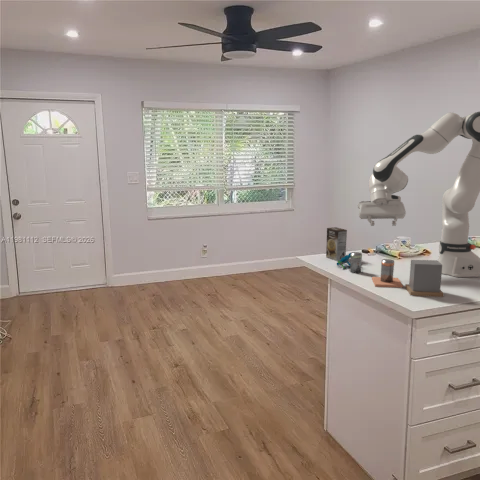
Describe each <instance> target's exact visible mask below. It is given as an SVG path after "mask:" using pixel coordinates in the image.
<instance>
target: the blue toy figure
mask: <svg viewBox="0 0 480 480" xmlns="http://www.w3.org/2000/svg"><path fill="white" fill-rule="evenodd" d="M351 253H352V252H349V253H348V254H346V256H345V257H343V258H342V259H341V260H338V261H336V266H341V267H342V268H343V270H344V269H346V267H345V266H344V264H347V265H348V266H349V267H350V262H349V259H351V257H350V255H351Z"/></svg>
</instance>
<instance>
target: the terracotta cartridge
mask: <svg viewBox="0 0 480 480" xmlns="http://www.w3.org/2000/svg"><path fill="white" fill-rule="evenodd" d="M394 268H395V260H394V259H389V258H383V259H381V268H380V277H381V281H382V282H386V283H391V282H393V278H394V271H395V269H394Z"/></svg>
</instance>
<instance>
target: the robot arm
mask: <svg viewBox="0 0 480 480" xmlns="http://www.w3.org/2000/svg"><path fill="white" fill-rule="evenodd" d="M458 136H460V137H462V138H464V139H469V140H472V142H471V143H472V144H471V145H472V146H471V148H470V150H469V152H468V154H467V155H466V157H465V159H464V161H463V163H462V164H461V167H460V168H459V170H458V172H457V175H456V178H455V181H454V183H453V185H452V187H450V188H448V189H447V190H445V191H444V193H443V195H442V200H441V201H442V202H441V204H442V205H441V207H442V208H441V210H442V211H441V212H442V213H441V217H442V218H441V221H442V224H441V225H442V227H441V238H440V241H439V245H438V253H439V255H438V259H437V261H439V262H440V263H441V264H442V274H443V275H446V276H452V277H456V278H475V277H477V278H478V277H479V278H480V257H479V256H478V255H477V254H476V253H474V252H473V251H472V250H476V249H477V246H476V245H475V244H471V243H470V242H469V234H470V233H469V232H470V231H469V230H470V223H469V222H470V221H469V219H470V218H469V212H470V211H472V210H473V209H474V207H475V205H476V201H477V199H478V197H479V195H480V111H477V112H471V114H469V115H466V116H464V117H462V116H460V115H459V114H457V113H454V112H447V113H445V114H444V115H442V116H441V117H440V118H439V119H437V120H436V121H435V122H433V124H432V125H430V127H428V128H427V130H425V131H424V132H422V133H420V134H415V135H413V136H411V137H410V138H408V139H407V140H405V141H404V142H403V143H402V144H401V145H399V146H398V147H397V148H395V149H394V150H392V151H391V152H390V153H389V154H387V155H386V156H385V157H384V158H381V159H379V161H377V162H376V163H375V165H374V167H373V169H372V174H371V175H370V177H369V180H368V191H369V193H370V195H369V199H370V200H367V201H364V200H363V201H360V202H358V203H357V208H358V209H359V214H358V217H359V218H360V220H367V221H368V223H369V225H370V227H374V226H375V220H376V219H378V220H380V219H381V220H382V219H383V220H390V219H391V220H392V219H393V220H392V221H391V224H392V227H396V225H397V222H398V219H401V220H402V219H404V218H405V217H406V214H407V212H406V208H405V205H404V203H403V202H402V199H401V196H400V195H395V193H398V192H400V191H402V190H404V189H405V188H406V187H407V185H408V182H409V176H408V175H407V174H406V173H405V172H404V171H403V170H401V168H399V167H398V165H399V163H401V162H402V161H403V160H404V159H406V158H407V157H409V155H410V154H413V153H415V152H420V153H424V154H427V155H434V154H439V153H440V152H441V151H443V150H444V149H445V148H446V147H447V146H448V145H449V144H451V142H452V141H453V140H454V139H456V137H458Z"/></svg>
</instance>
